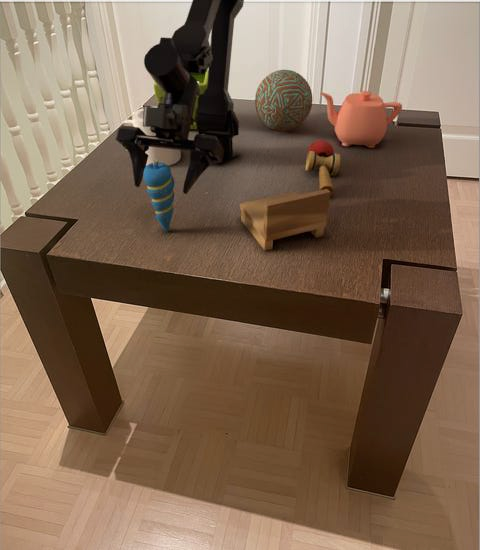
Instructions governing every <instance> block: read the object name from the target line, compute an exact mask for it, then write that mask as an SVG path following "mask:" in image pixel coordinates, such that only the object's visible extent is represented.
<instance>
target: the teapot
mask: <svg viewBox="0 0 480 550" xmlns="http://www.w3.org/2000/svg"><path fill="white" fill-rule="evenodd" d="M320 94H321V95H322V96H323V98H324V99H325V101H326V105H327V106H326V107H327V119H328V121H329V123H330V124H331V125H332V126H334V133H335V135H336V137H337V139H338V140H339V142H341V145H342V146H344V147H351V146H352V145H355V146H356V145H357V146H365V147H366V148H369V149H373V148H375V147H376V145H378V144H379V143H380V142H382V140H383V138H384V137H385V135H386V132H387V126H389V124H391V123H392V122H393V121H394V120H395V119H396V118H397V117H398V116H399V115H400V113H401V112H402V109H403V104H402V103H401V102H397V101H392V102H384V100H383V98H382V97H381V96H380V95H378V94H374V93H372V92H371V91H368V90H362V91H359V93H358V92H357V93H354V92H353V93H349V94H348V95H347V96H346V97H345V98H344V100H343V102H342V104H341V105H340V107H339V109H338V112H337V111H336V110H335V107H334V99H333V97H332V95H330V94H329V93H325V92H320ZM386 108H393V110H392V112H391V114H390V115H389V116H388V118H387V112H386Z"/></svg>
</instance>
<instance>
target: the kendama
mask: <svg viewBox="0 0 480 550" xmlns="http://www.w3.org/2000/svg"><path fill="white" fill-rule="evenodd" d="M307 149H308V150H307V154H306V160H305V161H306V162H305V171H306V172H312V171H313V170H317V169H318V170H319V172H318V184H319V186H318V187H319V189H318V191H320V190H324V189H328V190H329V191H330V197H332V195H334V193H335V190H334V186H333V182H332V179H331V176H334V177H335V176H337V175H338V172H339V170H340V166H341V154H339V153H334V152H335V151H334V147H333V146H332V144H331V143H330V142H328V141H327V140H323V139H319V140H316V141H314V142H312V143H311V144H310V145H309V147H308V148H307Z"/></svg>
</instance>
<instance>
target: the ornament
mask: <svg viewBox="0 0 480 550" xmlns="http://www.w3.org/2000/svg"><path fill="white" fill-rule="evenodd" d="M153 158H154V157H153ZM142 179H143V180H144V183H145V184H146V186H147V187H146V191H147V194H148V195H149V197H150V199H151V206H152V208H153V209H154V211H155V214H154V215H155V217H156V220H157V222H158V223H159V224H160V226H161V227H162V229H163V230H164V232H169V231H170V228H171V227H170V226H171V221H172V217H173V214H174V204H173V202H174V200H175V191H174V188H175V179H174V176H173V175H172V170H171V167H170V165H169V166H168V165H166V164H164V163H161V162H158V160H154V159H153V163H150V164H148V165H147V166H146V167H145V169H144V173H143V178H142Z"/></svg>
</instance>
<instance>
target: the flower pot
mask: <svg viewBox="0 0 480 550" xmlns="http://www.w3.org/2000/svg"><path fill="white" fill-rule="evenodd" d="M189 74H190V75H192V76H193V77H194V78H195V79H196V81H197V83H198V84H199V89H200V94H203V93H204V91H205V90H206V88H207V82H208V69H207V72H206V73H205V74H192V73H189ZM153 89H154V95H155V100H156V103H157V106H158V105H159V103H162V102H163V98H164V93H165V92H164V91H162V90H161V89H160V88H159V87H158V85H157V84H156V82H155V81H154V82H153ZM198 97H199V95H197V97H196V102H195V107H194V112H193V117H192V118H193V119H194V124H193V125H191V126H190V130H198V129H197V125H196V121H195V113H196V109H197V107H198Z"/></svg>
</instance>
